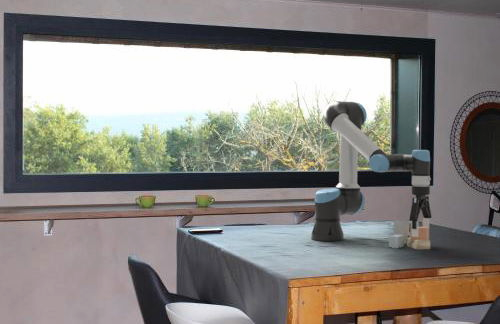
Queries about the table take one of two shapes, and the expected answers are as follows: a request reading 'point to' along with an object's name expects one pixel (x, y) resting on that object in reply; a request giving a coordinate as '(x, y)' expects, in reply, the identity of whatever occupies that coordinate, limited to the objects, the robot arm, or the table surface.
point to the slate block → (396, 241)
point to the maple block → (418, 243)
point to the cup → (402, 228)
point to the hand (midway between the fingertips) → (420, 234)
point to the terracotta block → (421, 233)
